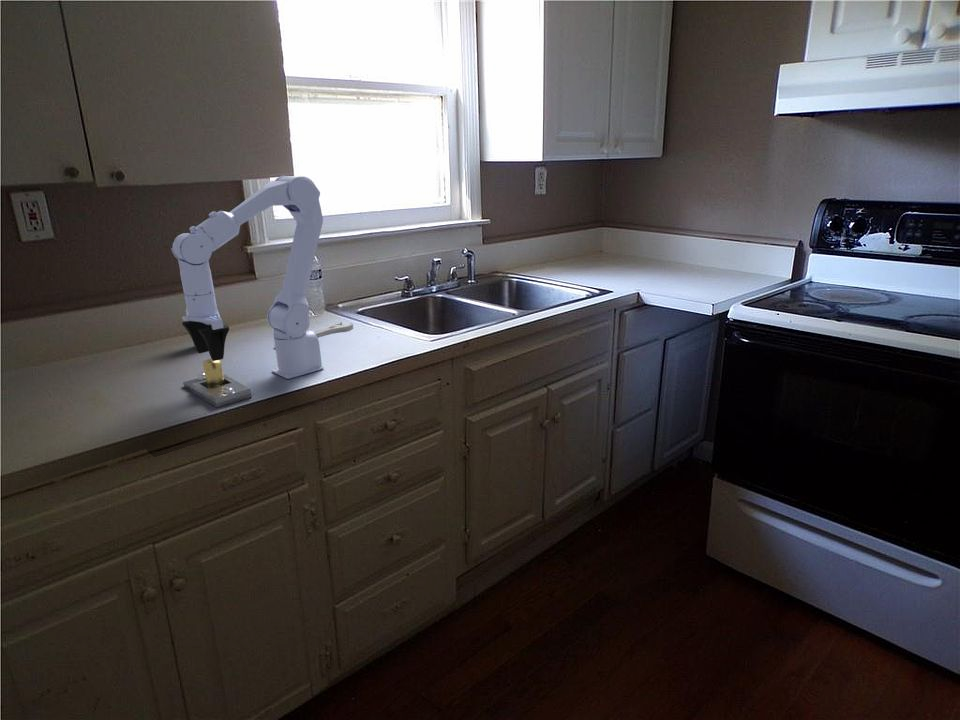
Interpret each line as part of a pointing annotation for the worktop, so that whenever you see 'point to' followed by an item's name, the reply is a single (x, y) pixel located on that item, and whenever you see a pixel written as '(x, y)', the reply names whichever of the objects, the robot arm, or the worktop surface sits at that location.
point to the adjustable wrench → (334, 329)
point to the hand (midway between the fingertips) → (210, 355)
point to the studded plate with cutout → (218, 390)
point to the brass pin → (213, 373)
